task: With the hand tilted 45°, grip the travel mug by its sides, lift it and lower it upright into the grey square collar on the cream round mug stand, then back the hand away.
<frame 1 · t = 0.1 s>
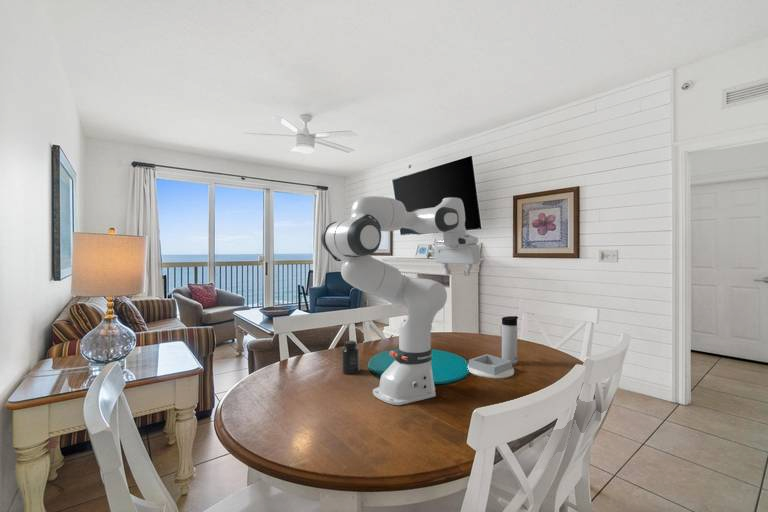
hand: (457, 274, 139), 39 cm above the table, tool pointing down, fingers open, 8 cm apart
supplement bottle: (350, 372, 143), on the table
mug stand: (490, 370, 143), on the table
travel mug: (509, 363, 152), on the table
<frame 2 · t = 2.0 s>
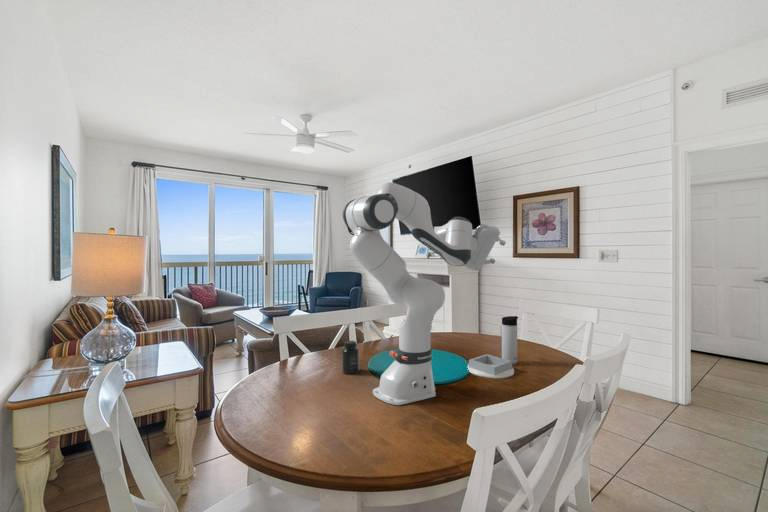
hand: (499, 252, 146), 47 cm above the table, tool horizontal, fingers open, 8 cm apart
nothing on the table moved.
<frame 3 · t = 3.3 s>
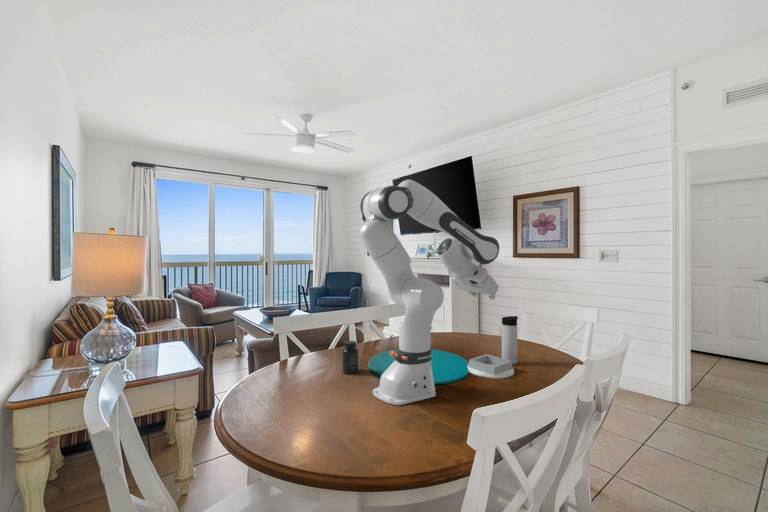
hand: (484, 296, 144), 30 cm above the table, tool tilted 45°, fingers open, 8 cm apart
nothing on the table moved.
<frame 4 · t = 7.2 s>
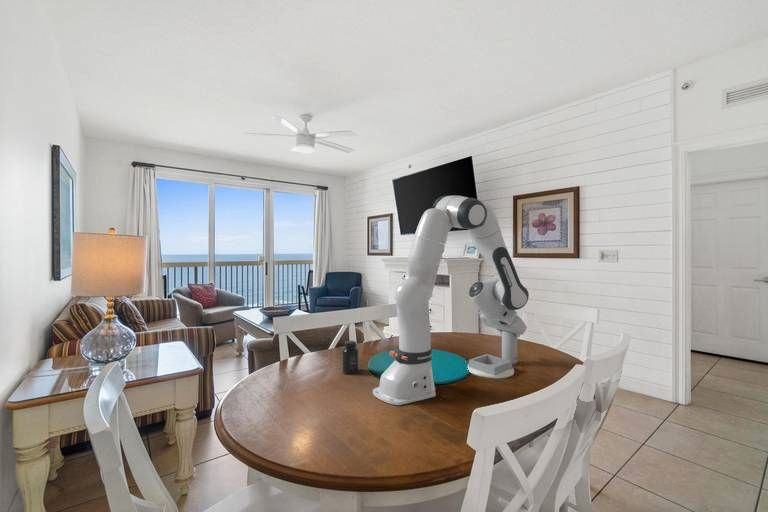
hand: (510, 334, 152), 12 cm above the table, tool tilted 45°, fingers closed on travel mug, 6 cm apart
travel mug: (509, 363, 152), on the table, touching gripper
everything else where it was.
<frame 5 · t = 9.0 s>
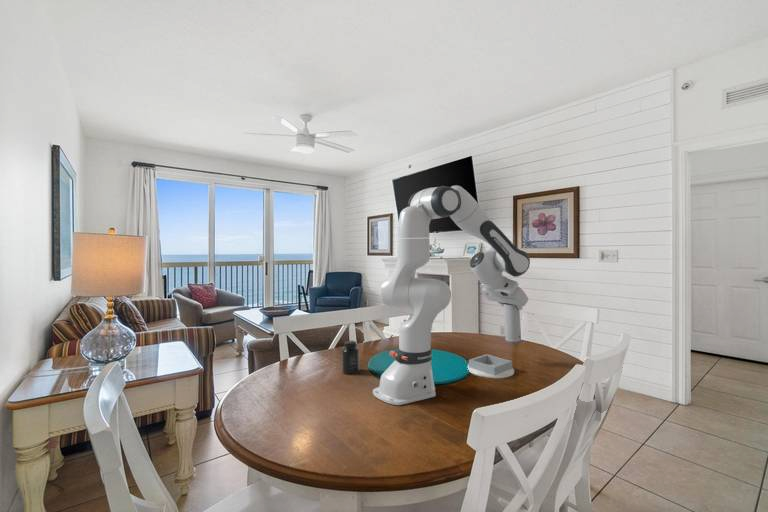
hand: (513, 307, 151), 24 cm above the table, tool tilted 45°, fingers closed on travel mug, 6 cm apart
travel mug: (513, 342, 151), point 9 cm above the table, touching gripper
everything else where it was.
when the fingers open (23 cm above the table, at t = 9.8 s): travel mug drops 5 cm, resting on mug stand.
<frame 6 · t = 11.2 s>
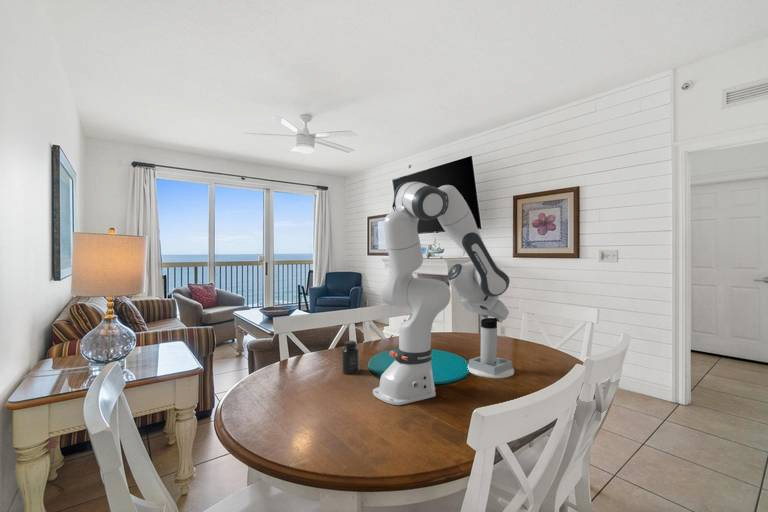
hand: (493, 319, 143), 21 cm above the table, tool tilted 45°, fingers open, 6 cm apart
travel mug: (488, 368, 143), point 1 cm above the table, touching gripper, mug stand
everything else where it was.
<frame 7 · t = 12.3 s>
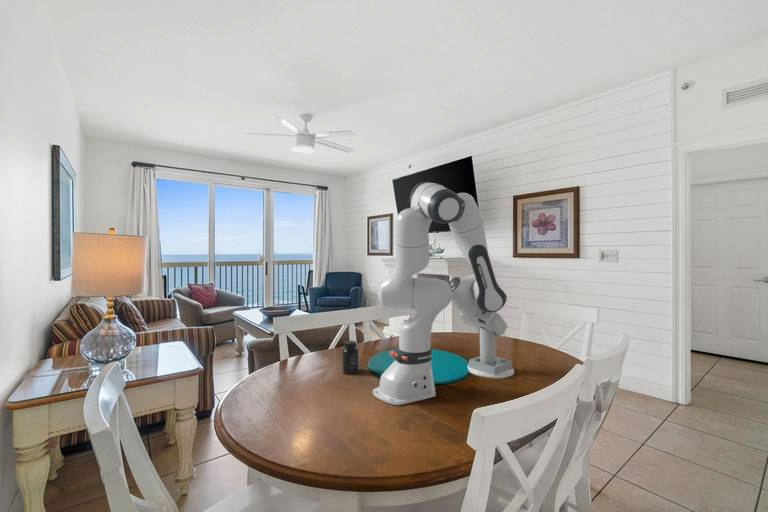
hand: (491, 333, 143), 15 cm above the table, tool tilted 45°, fingers closed on travel mug, 6 cm apart
travel mug: (488, 367, 143), point 1 cm above the table, touching gripper, mug stand
everything else where it was.
when the fingers open (15 cm above the table, at t = 13.2 s): travel mug stays where it is, resting on mug stand.
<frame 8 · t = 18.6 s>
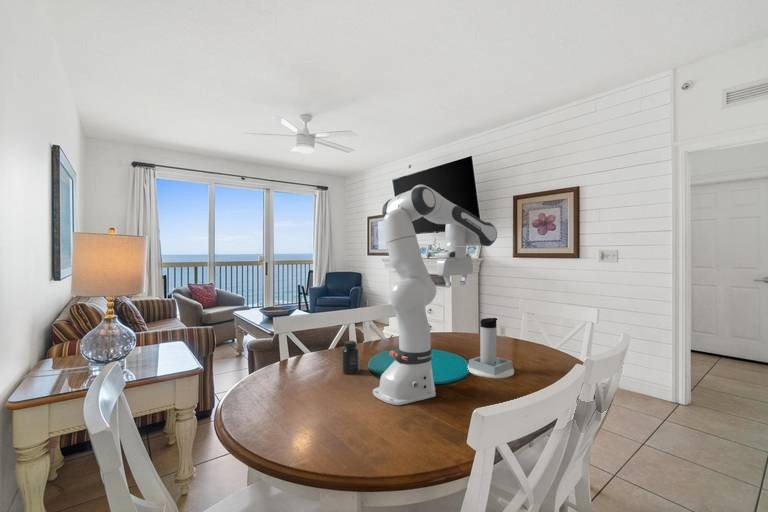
hand: (455, 285, 154), 33 cm above the table, tool pointing down, fingers open, 8 cm apart
travel mug: (488, 368, 143), point 1 cm above the table, touching mug stand
everything else where it was.
at the end: travel mug 0.6 cm off-centre on the mug stand, point 0.8 cm above the mug stand's base; travel mug tilted 0°; the gripper is holding nothing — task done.
